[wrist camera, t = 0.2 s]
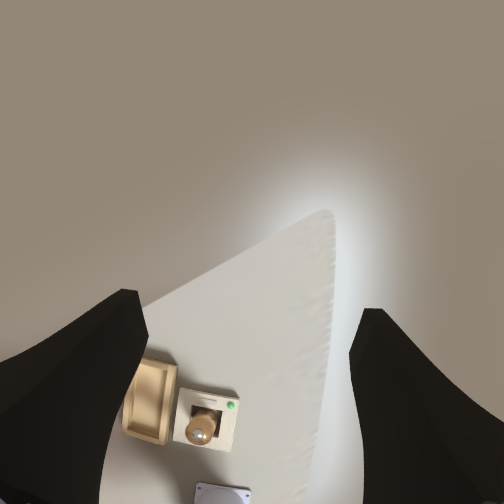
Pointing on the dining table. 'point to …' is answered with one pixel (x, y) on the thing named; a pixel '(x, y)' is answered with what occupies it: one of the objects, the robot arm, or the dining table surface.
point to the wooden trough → (150, 401)
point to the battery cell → (201, 427)
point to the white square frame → (213, 402)
